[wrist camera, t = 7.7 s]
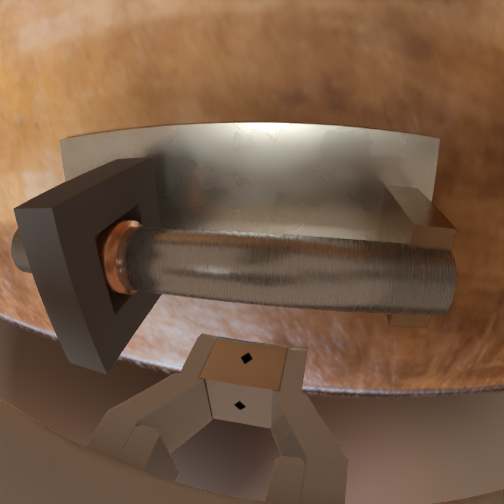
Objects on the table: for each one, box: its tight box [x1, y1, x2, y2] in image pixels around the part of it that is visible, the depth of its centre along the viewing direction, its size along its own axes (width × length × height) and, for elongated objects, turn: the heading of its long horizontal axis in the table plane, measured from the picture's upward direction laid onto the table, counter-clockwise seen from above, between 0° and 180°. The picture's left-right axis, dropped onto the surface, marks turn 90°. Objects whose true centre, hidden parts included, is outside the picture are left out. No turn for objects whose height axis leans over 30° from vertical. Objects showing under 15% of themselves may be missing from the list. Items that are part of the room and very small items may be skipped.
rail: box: [11, 122, 457, 327], centre depth 16 cm, size 24×11×8 cm, turn 91°
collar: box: [14, 157, 162, 374], centre depth 15 cm, size 2×8×8 cm, turn 1°
